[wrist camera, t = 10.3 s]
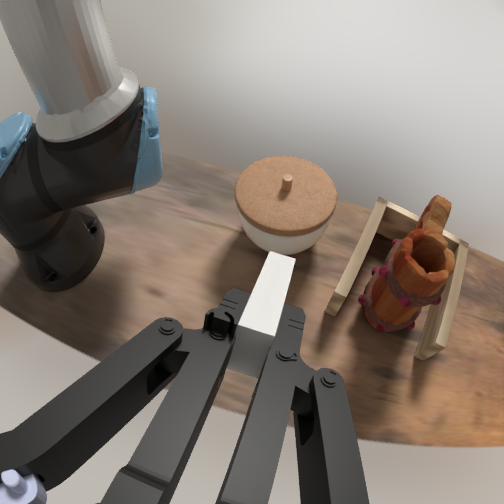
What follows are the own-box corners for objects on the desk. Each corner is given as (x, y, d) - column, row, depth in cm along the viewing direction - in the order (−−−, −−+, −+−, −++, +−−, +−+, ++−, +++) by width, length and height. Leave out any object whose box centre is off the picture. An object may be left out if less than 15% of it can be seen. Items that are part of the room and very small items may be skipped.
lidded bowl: (255, 191, 51) (254, 136, 42) (333, 212, 49) (347, 158, 39) (224, 255, 45) (216, 202, 36) (313, 282, 42) (329, 233, 33)
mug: (397, 352, 37) (458, 306, 24) (343, 324, 39) (383, 264, 26) (428, 267, 43) (477, 202, 30) (382, 242, 46) (419, 169, 33)
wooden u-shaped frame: (324, 311, 40) (334, 291, 35) (367, 222, 48) (378, 196, 42) (422, 360, 36) (445, 347, 31) (450, 264, 43) (468, 243, 38)
